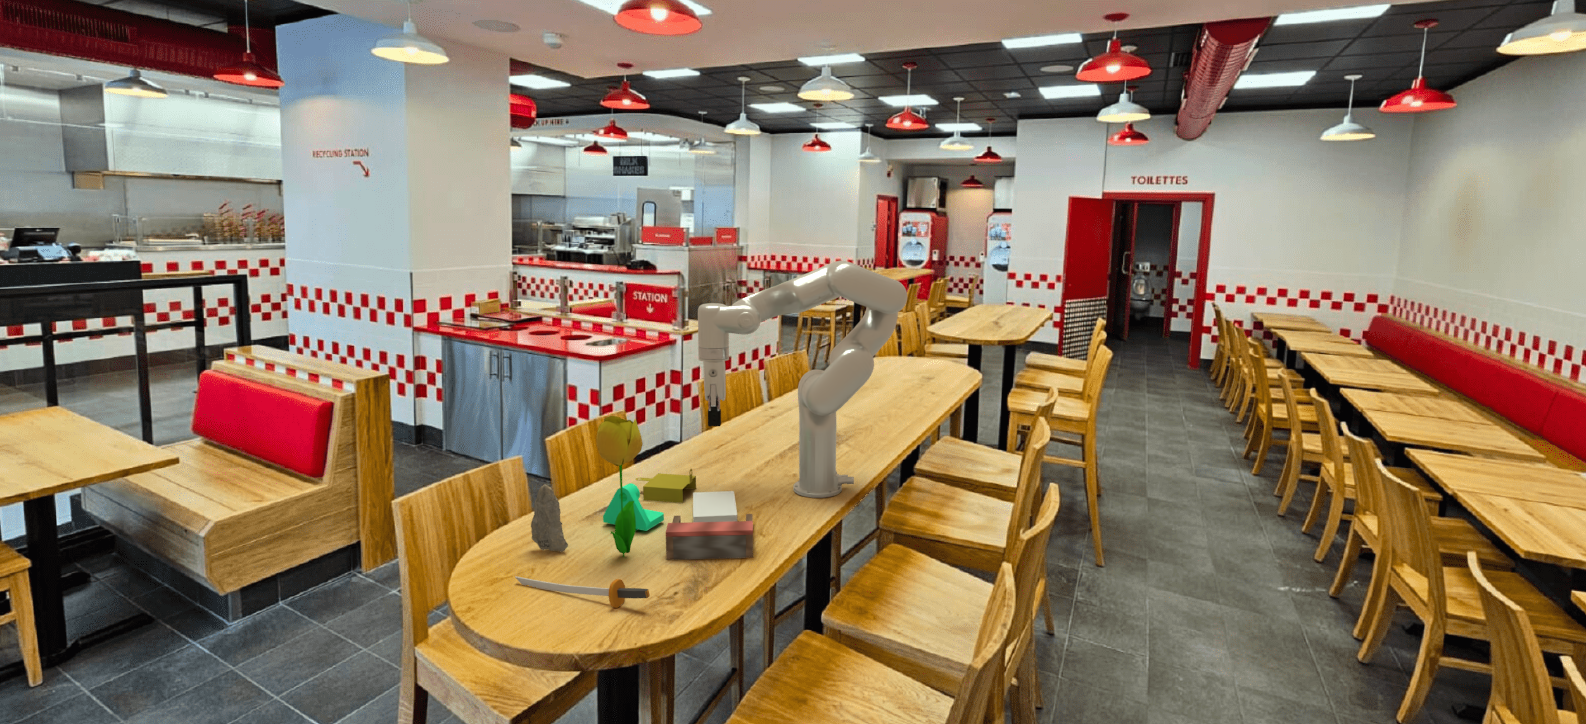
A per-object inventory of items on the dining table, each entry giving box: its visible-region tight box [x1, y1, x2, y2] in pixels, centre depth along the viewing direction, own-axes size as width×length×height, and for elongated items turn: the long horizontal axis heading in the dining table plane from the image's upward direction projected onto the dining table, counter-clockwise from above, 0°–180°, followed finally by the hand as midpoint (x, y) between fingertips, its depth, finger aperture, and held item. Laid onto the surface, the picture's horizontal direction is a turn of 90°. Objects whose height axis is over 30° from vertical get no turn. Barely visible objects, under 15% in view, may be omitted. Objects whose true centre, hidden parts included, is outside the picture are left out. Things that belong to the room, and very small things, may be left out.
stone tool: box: [530, 483, 569, 553], centre depth 167 cm, size 8×3×15 cm, turn 75°
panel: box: [692, 490, 738, 522], centre depth 188 cm, size 10×16×4 cm, turn 7°
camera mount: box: [602, 483, 665, 532], centre depth 182 cm, size 12×8×10 cm, turn 65°
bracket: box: [635, 468, 697, 504], centre depth 202 cm, size 16×8×15 cm
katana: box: [514, 575, 651, 609], centre depth 147 cm, size 30×4×5 cm, turn 68°
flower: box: [596, 415, 643, 558], centre depth 163 cm, size 9×8×30 cm
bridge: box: [665, 513, 754, 561], centre depth 173 cm, size 18×18×6 cm
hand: (714, 425), depth 198 cm, fingers closed
